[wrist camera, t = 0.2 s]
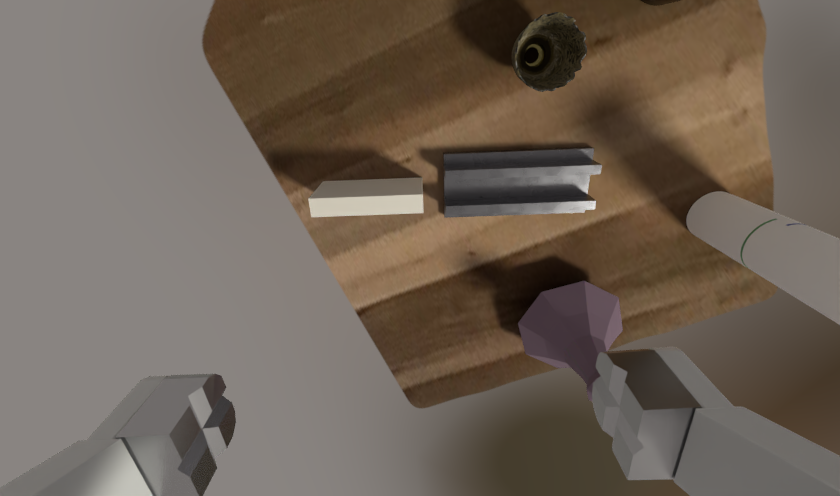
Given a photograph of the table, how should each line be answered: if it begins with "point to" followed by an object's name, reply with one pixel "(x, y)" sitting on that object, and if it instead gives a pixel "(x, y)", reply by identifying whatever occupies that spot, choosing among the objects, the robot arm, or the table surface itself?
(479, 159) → the floor track
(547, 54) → the dark grey small vase
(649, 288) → the table surface
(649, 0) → the supplement bottle
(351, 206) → the door panel
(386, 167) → the table surface
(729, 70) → the table surface
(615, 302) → the flask
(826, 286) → the cylindrical container
